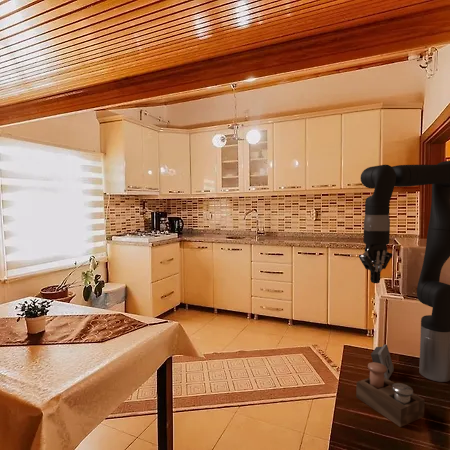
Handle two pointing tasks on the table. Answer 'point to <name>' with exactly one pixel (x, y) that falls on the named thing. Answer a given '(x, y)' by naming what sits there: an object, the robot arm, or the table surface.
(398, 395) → the grey plug
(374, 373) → the terracotta plug
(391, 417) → the socket board
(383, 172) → the robot arm
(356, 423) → the table surface
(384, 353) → the electrical switch
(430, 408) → the table surface
